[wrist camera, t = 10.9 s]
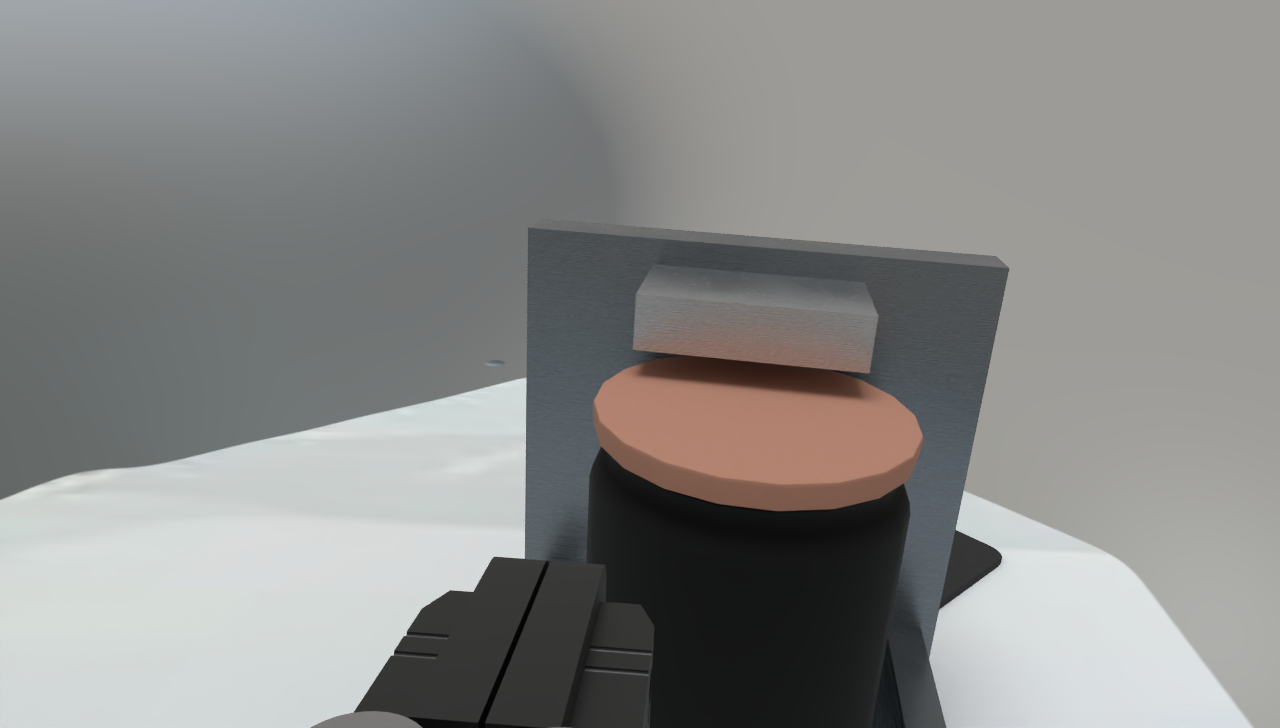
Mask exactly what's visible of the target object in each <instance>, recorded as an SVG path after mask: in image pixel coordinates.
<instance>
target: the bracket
mask: <svg viewBox="0 0 1280 728" xmlns="http://www.w3.org/2000/svg"><path fill="white" fill-rule="evenodd" d="M1008 272H1009V268H1008V267H1007V266H1006V265H1005V264H1004V263H1003V262H1002V261H1001V260H1000V259H998V258H997V257H996V256H985V255H974V254H961V253H950V252H937V251H925V250H913V249H901V248H889V247H877V246H864V245H852V244H840V243H828V242H816V241H804V240H792V239H780V238H768V237H755V236H744V235H743V236H742V235H731V234H719V233H707V232H695V231H683V230H671V229H659V228H646V227H635V226H622V225H610V224H598V223H586V222H574V221H562V220H550V219H541V220H539V221H537V222H536V223H534V224H533V225H531V226H530V227H529V228H528V291H527V294H528V296H527V397H526V505H525V559H531V560H545V561H548V562H549V564H550V562H551V561H562V562H576V563H586V555H587V529H588V502H589V476H590V472H591V469H592V465H593V463H594V461H595V459H596V456H597V454H598V452H599V450H600V448H601V446H600V444H599V440H598V436H597V433H596V429H595V425H594V418H593V402H594V399H595V398H596V396H597V394H598V392H599V390H600V388H601V387H602V385H603V383H604V382H605V381H607V380H608V379H610V378H612V377H613V376H615V375H616V374H618V373H620V372H621V371H623V370H624V369H626V368H630V367H633V366H636V365H640V364H643V363H646V362H650V361H653V360H657V359H663V358H671V357H679V356H687V355H690V356H700V357H710V358H720V359H730V360H740V361H750V362H760V363H770V364H780V365H790V366H800V367H810V368H820V369H830V370H833V371H836V372H839V373H842V374H845V375H848V376H851V377H854V378H857V379H860V380H862V381H864V382H866V383H868V384H870V385H872V386H874V387H876V388H878V389H880V390H882V391H884V392H886V393H888V394H890V395H891V396H893V397H895V398H896V399H897V400H898V401H899V402H900V403H901V404H902V405H904V406H905V407H906V408H907V409H908V410H909V411H910V412H912V413H913V414H914V415H915V417H916V419H917V422H918V425H919V427H920V430H921V432H922V435H923V439H924V440H923V444H922V447H921V451H920V454H919V458H918V460H917V462H916V465H915V467H914V469H913V471H912V473H911V475H910V478H909V480H908V481H907V482H905V483H904V485H905V489H906V492H907V495H908V499H909V502H910V519H909V525H908V530H907V536H906V541H905V547H904V552H903V557H902V563H901V568H900V574H899V579H898V585H897V590H896V595H895V601H894V606H893V612H892V617H891V623H890V628H889V634H888V639H887V644H886V650H885V655H884V661H883V666H882V672H881V677H880V682H879V688H878V693H877V699H876V704H875V710H874V715H873V720H872V726H871V728H946V725H945V721H944V717H943V713H942V709H941V705H940V701H939V697H938V693H937V690H936V686H935V682H934V678H933V674H932V670H931V666H930V662H929V655H930V650H931V646H932V641H933V636H934V631H935V626H936V621H937V616H938V612H939V607H940V602H941V597H942V592H943V587H944V582H945V578H946V573H947V568H948V563H949V558H950V553H951V548H952V544H953V539H954V534H955V529H956V524H957V519H958V514H959V510H960V505H961V500H962V495H963V490H964V485H965V480H966V476H967V471H968V465H969V461H970V456H971V451H972V446H973V441H974V437H975V432H976V427H977V422H978V417H979V412H980V407H981V403H982V397H983V393H984V388H985V383H986V378H987V374H988V369H989V364H990V359H991V354H992V349H993V344H994V340H995V334H996V330H997V325H998V320H999V315H1000V310H1001V306H1002V301H1003V296H1004V291H1005V286H1006V281H1007V276H1008Z"/></svg>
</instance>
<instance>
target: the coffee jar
mask: <svg viewBox="0 0 1280 728" xmlns="http://www.w3.org/2000/svg"><path fill="white" fill-rule="evenodd" d="M593 418H594V425H595V429H596V433H597V436H598V440H599V444H600V446H601V448H600V450H599V452H598V454H597V456H596V459H595V461H594V463H593V465H592V469H591V472H590V476H589V502H588V529H587V555H586V563H590V564H603V565H606V602H614V603H627V604H640V605H641V606H642V607H643V609H644V610H645V612H646V614H647V615H648V617H649V619H650V620H651V622H652V623H653V625H654V644H653V665H652V686H651V706H650V727H649V728H871V726H872V720H873V715H874V710H875V704H876V699H877V693H878V688H879V682H880V677H881V672H882V666H883V661H884V655H885V650H886V644H887V639H888V634H889V628H890V623H891V617H892V612H893V606H894V601H895V595H896V590H897V585H898V579H899V574H900V568H901V563H902V557H903V552H904V547H905V541H906V536H907V530H908V525H909V519H910V502H909V499H908V495H907V492H906V489H905V485H904V483H905V482H907V481H908V480H909V478H910V475H911V473H912V471H913V469H914V467H915V465H916V462H917V460H918V458H919V454H920V451H921V447H922V444H923V440H924V439H923V435H922V432H921V430H920V427H919V425H918V422H917V419H916V417H915V415H914V414H913V413H912V412H910V411H909V410H908V409H907V408H906V407H905V406H904V405H902V404H901V403H900V402H899V401H898V400H897V399H896V398H895V397H893V396H891V395H890V394H888V393H886V392H884V391H882V390H880V389H878V388H876V387H874V386H872V385H870V384H868V383H866V382H864V381H862V380H860V379H857V378H854V377H851V376H848V375H845V374H842V373H839V372H836V371H833V370H830V369H820V368H810V367H800V366H790V365H780V364H770V363H760V362H750V361H740V360H730V359H720V358H710V357H700V356H690V355H687V356H679V357H671V358H663V359H657V360H653V361H650V362H646V363H643V364H640V365H636V366H633V367H630V368H626V369H624V370H623V371H621V372H620V373H618V374H616V375H615V376H613V377H612V378H610V379H608V380H607V381H605V382H604V383H603V385H602V387H601V388H600V390H599V392H598V394H597V396H596V398H595V399H594V402H593Z"/></svg>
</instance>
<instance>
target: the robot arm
mask: <svg viewBox="0 0 1280 728" xmlns="http://www.w3.org/2000/svg"><path fill="white" fill-rule="evenodd" d="M653 644H654V625H653V623H652V622H651V620H650V619H649V617H648V615H647V614H646V612H645V610H644V609H643V607H642V606H641V605H640V604H627V603H614V602H606V565H603V564H590V563H576V562H562V561H551V562H550V564H549V562H548V561H545V560H531V559H518V558H504V557H494V558H493V559H492V560H491V562H490V563H489V565H488V567H487V569H486V571H485V572H484V574H483V576H482V578H481V580H480V581H479V583H478V585H477V587H476V588H475V590H474V592H464V591H451V590H450V591H449V592H447V593H446V594H444V595H442V596H441V597H439V598H438V599H436V600H435V601H433V602H432V603H430V604H429V605H427V606H425V607H424V608H422V609H421V611H420V613H419V614H418V616H417V617H416V619H415V620H414V622H413V623H412V625H411V626H410V628H409V629H408V631H407V635H406V636H404V637H403V638H402V640H401V641H400V643H399V644H398V646H397V647H396V649H395V651H394V656H391V657H390V658H389V660H388V661H387V663H386V664H385V666H384V667H383V669H382V670H381V672H380V673H379V675H378V676H377V678H376V679H375V681H374V682H373V684H372V685H371V687H370V689H369V690H368V692H367V693H366V695H365V696H364V698H363V699H362V701H361V702H360V704H359V705H358V707H357V708H356V710H355V711H354V713H350V714H345V715H341V716H337V717H334V718H331V719H328V720H326V721H323V722H321V723H319V724H317V725H315V726H313V727H311V728H649V727H650V706H651V686H652V665H653Z"/></svg>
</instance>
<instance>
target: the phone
mask: <svg viewBox="0 0 1280 728" xmlns="http://www.w3.org/2000/svg"><path fill="white" fill-rule="evenodd" d="M1001 559H1002V555H1001V554H1000V553H999V551H997V550H996V549H995V548H993V547H991V546H989V545H987V544H985V543H983V542H980V541H978V540H976V539H974V538H972V537H970V536H967V535H965V534H963V533H961V532H959V531H957V530H955V534H954V539H953V544H952V548H951V553H950V558H949V563H948V568H947V573H946V578H945V582H944V587H943V592H942V597H941V602H940V607H939V609H940V608H942V607H943V606H944V605H946V604H947V603H949V602H950V601H951V600H953V599H954V598H955V597H957V596H958V595H960V594H961V593H962V592H964V591H965V590H966V589H968V588H969V587H971V586H972V585H973V584H975V583H976V582H977V581H979V580H980V579H982V578H983V577H984V576H986V575H987V574H988V573H990V572H991V571H992V570H994V569H995V568H997V567H998V566H999V565H1000V563H1001Z"/></svg>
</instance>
